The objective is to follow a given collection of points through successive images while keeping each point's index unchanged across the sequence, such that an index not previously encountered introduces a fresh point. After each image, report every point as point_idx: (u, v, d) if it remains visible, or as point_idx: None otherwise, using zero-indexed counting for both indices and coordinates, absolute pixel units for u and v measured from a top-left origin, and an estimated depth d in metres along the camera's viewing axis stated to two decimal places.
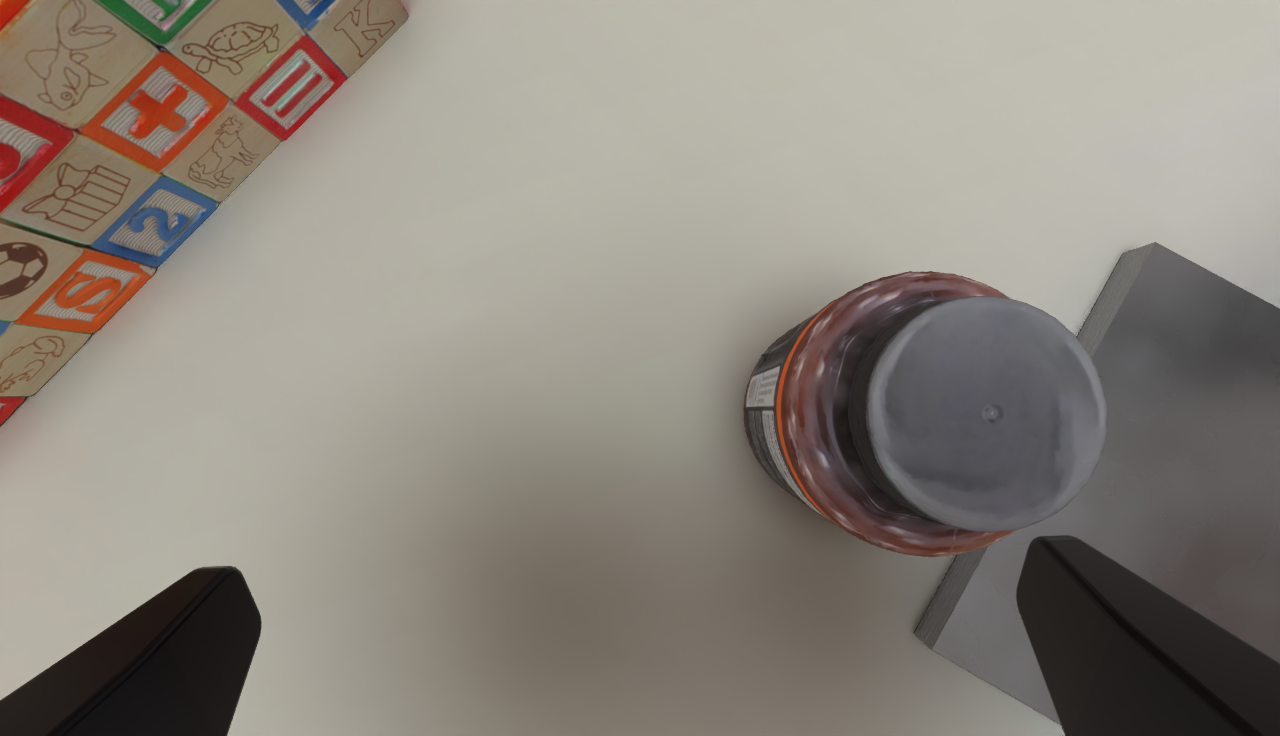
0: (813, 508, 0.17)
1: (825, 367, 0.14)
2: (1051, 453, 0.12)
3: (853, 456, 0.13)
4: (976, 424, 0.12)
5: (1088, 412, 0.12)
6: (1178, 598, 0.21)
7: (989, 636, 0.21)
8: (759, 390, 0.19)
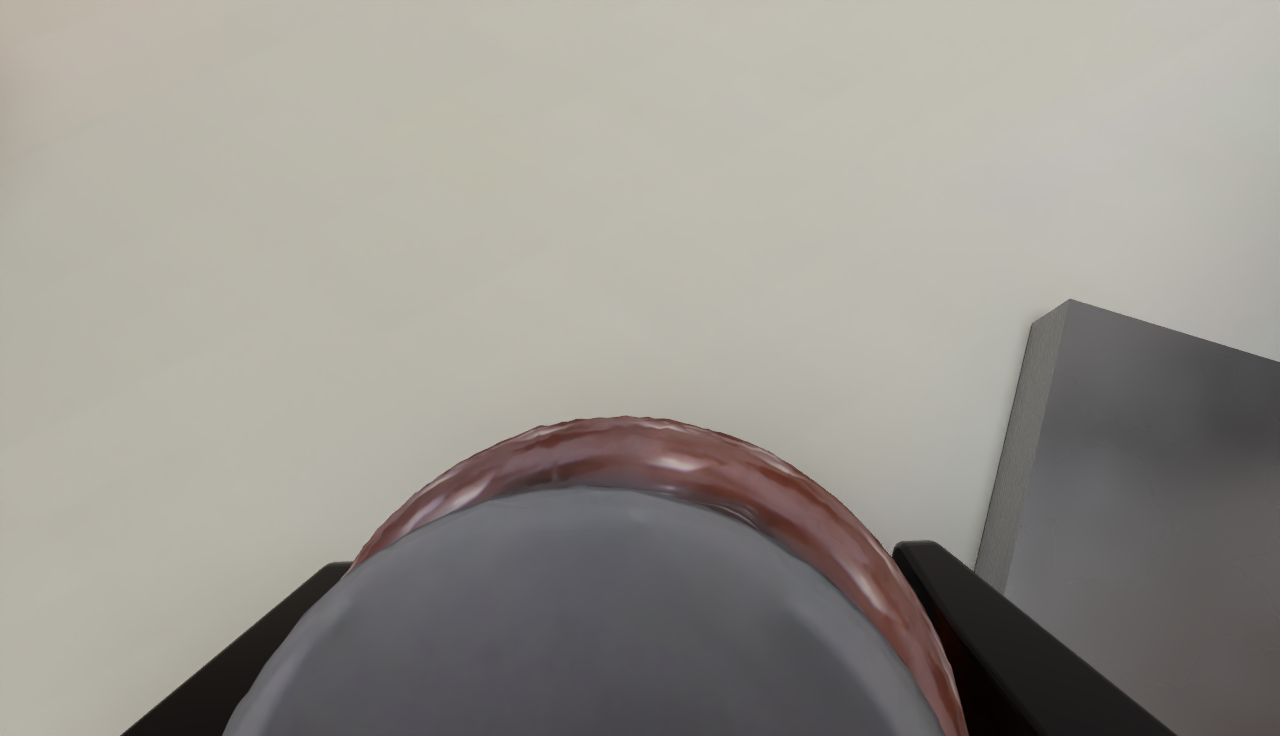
0: None
1: None
2: None
3: None
4: None
5: None
6: None
7: None
8: None
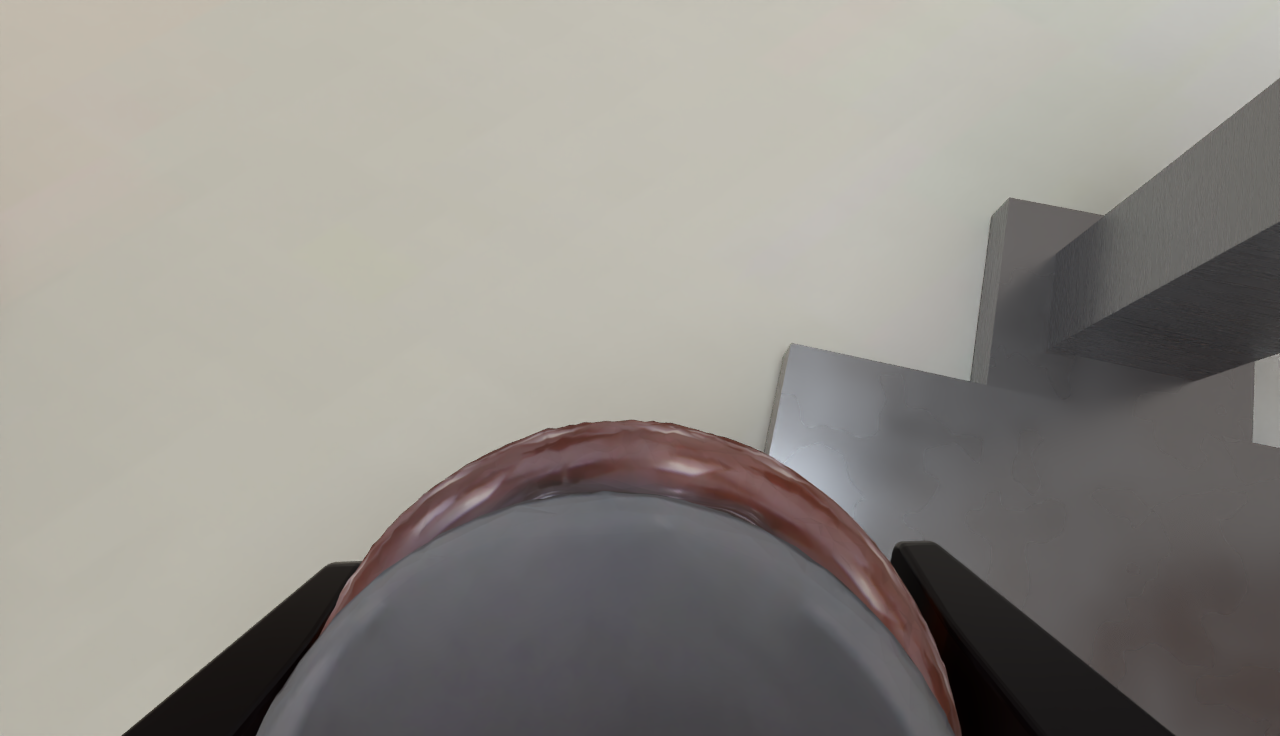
0: None
1: None
2: None
3: None
4: None
5: None
6: None
7: None
8: None
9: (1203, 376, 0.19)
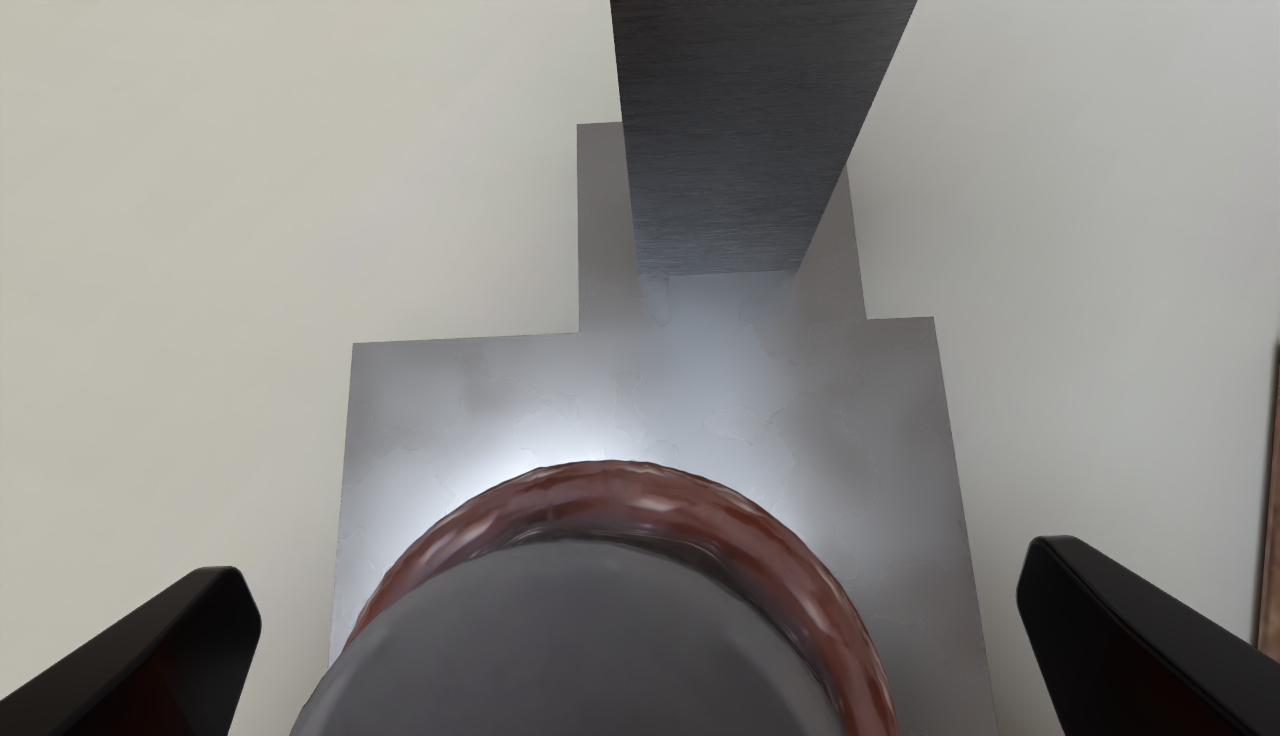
0: None
1: None
2: None
3: None
4: None
5: None
6: None
7: None
8: None
9: (797, 262, 0.17)
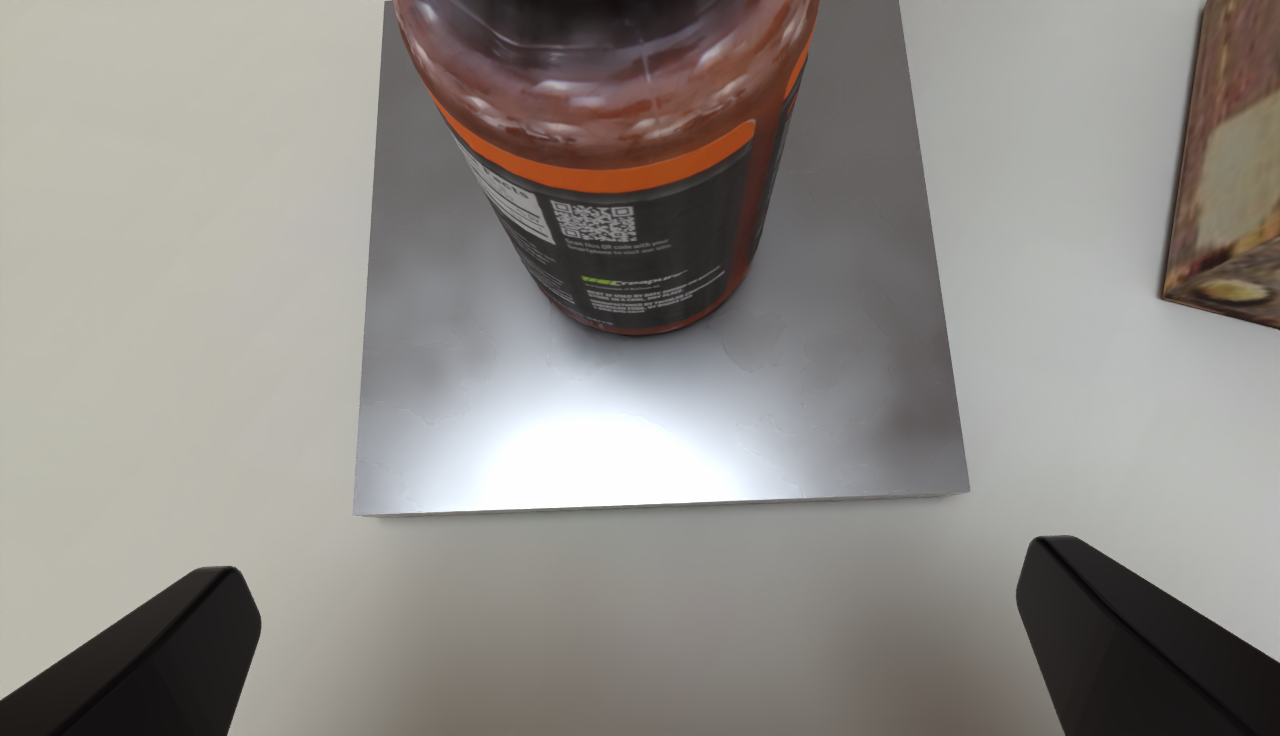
0: (527, 216, 0.11)
1: None
2: None
3: None
4: None
5: None
6: None
7: (409, 461, 0.17)
8: None
9: None
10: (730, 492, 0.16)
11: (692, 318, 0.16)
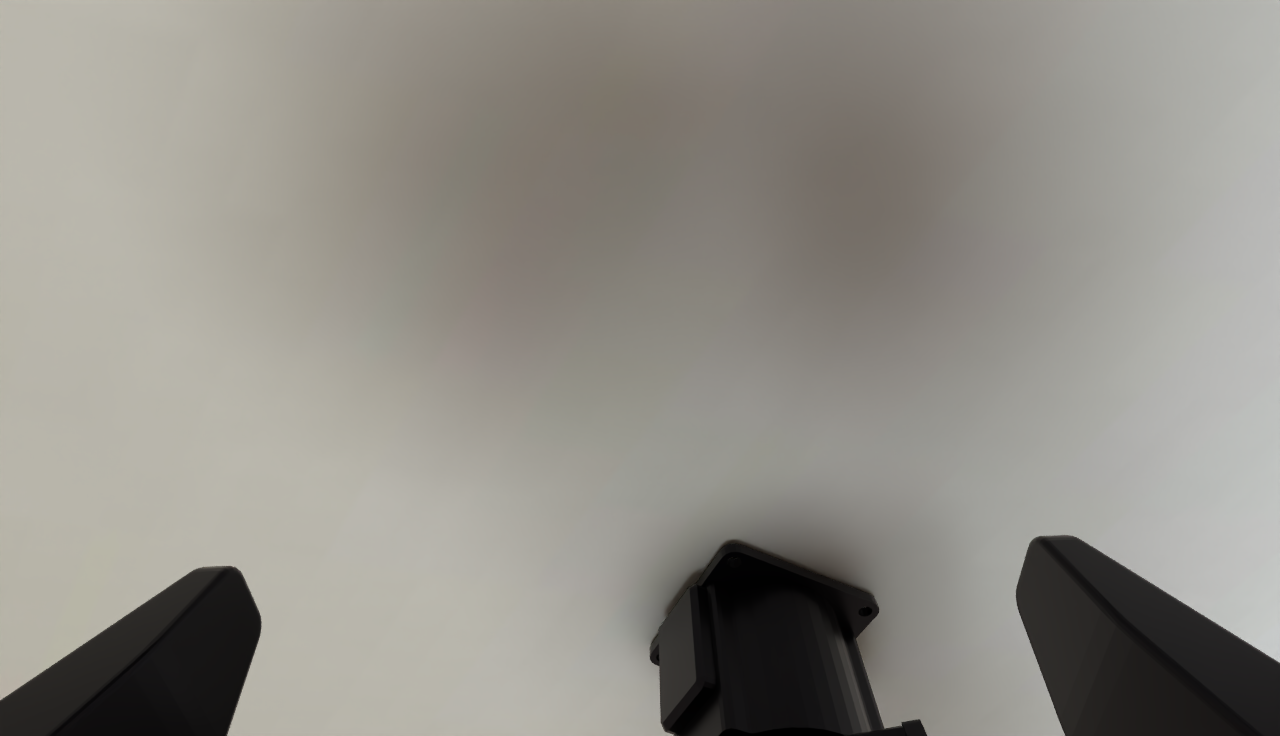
0: None
1: None
2: None
3: None
4: None
5: None
6: None
7: None
8: None
9: None
10: None
11: None
